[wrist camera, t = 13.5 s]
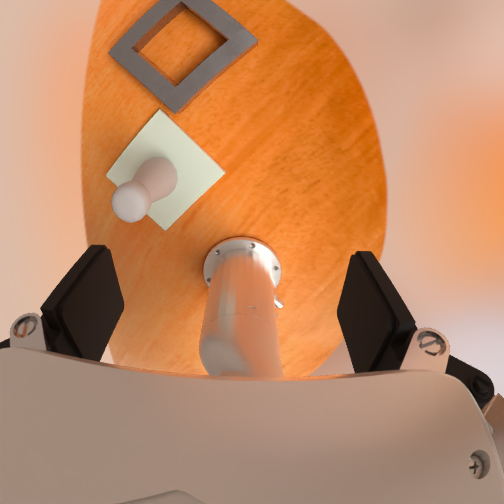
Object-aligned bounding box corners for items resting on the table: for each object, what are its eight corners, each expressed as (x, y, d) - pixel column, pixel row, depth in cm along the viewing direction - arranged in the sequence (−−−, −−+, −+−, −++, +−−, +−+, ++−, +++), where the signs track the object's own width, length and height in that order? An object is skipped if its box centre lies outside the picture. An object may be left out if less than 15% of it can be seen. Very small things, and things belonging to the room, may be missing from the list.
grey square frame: (257, 45, 29) (258, 40, 27) (180, 112, 34) (175, 113, 31) (188, -12, 24) (183, -20, 21) (117, 55, 29) (107, 53, 26)
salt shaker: (174, 198, 39) (145, 240, 28) (139, 185, 38) (98, 222, 27) (186, 161, 37) (158, 189, 25) (149, 148, 36) (107, 171, 24)
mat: (225, 171, 38) (225, 173, 38) (166, 228, 43) (165, 231, 42) (161, 109, 33) (159, 109, 33) (107, 174, 38) (105, 175, 37)
